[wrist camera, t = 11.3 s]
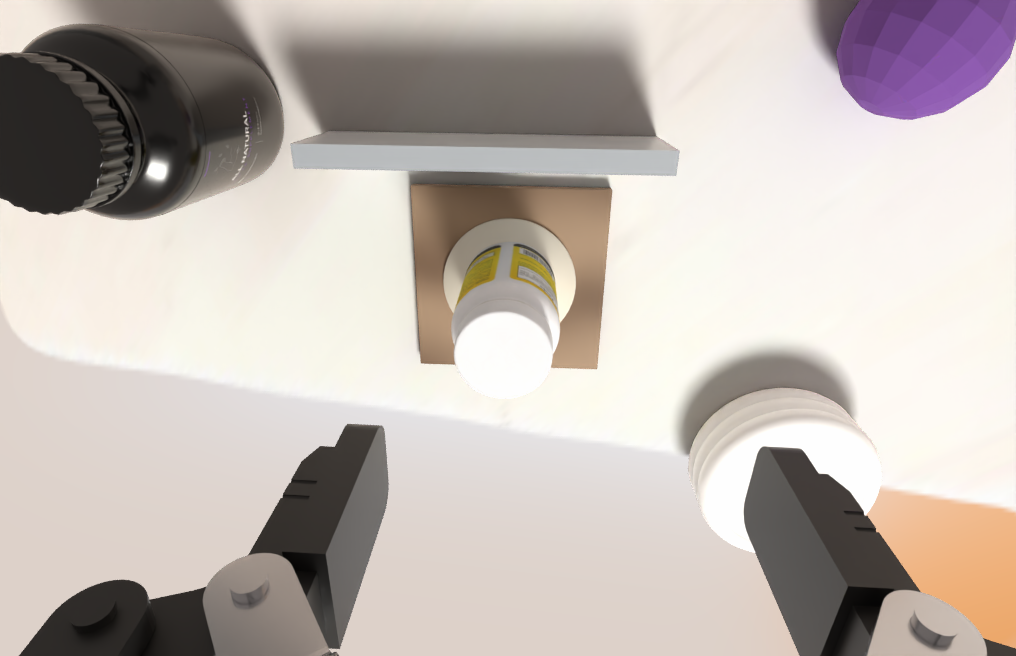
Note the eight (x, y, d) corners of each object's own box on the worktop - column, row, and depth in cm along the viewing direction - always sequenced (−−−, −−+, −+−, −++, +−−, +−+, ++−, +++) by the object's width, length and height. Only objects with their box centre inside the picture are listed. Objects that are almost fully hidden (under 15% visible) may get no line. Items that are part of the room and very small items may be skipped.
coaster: (709, 373, 34) (727, 406, 30) (880, 395, 34) (916, 430, 30) (669, 507, 38) (681, 548, 35) (821, 526, 38) (847, 569, 35)
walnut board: (413, 183, 30) (409, 186, 29) (610, 187, 29) (612, 191, 29) (422, 358, 34) (420, 365, 33) (596, 364, 33) (597, 370, 33)
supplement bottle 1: (310, 164, 30) (176, 224, 19) (191, 197, 31) (-3, 272, 20) (253, 16, 27) (58, -16, 16) (124, 57, 28) (-143, 53, 17)
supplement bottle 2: (467, 323, 32) (445, 407, 24) (462, 240, 30) (437, 301, 22) (555, 324, 32) (561, 407, 24) (556, 239, 30) (563, 301, 22)
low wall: (329, 131, 29) (290, 143, 24) (656, 136, 28) (679, 150, 24) (331, 151, 29) (293, 168, 25) (654, 157, 29) (676, 176, 24)
